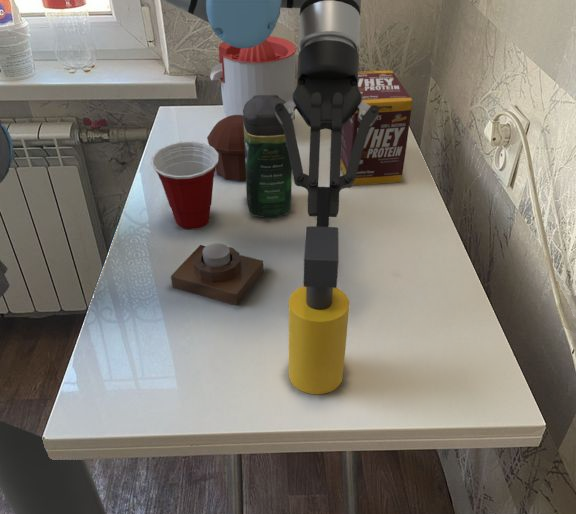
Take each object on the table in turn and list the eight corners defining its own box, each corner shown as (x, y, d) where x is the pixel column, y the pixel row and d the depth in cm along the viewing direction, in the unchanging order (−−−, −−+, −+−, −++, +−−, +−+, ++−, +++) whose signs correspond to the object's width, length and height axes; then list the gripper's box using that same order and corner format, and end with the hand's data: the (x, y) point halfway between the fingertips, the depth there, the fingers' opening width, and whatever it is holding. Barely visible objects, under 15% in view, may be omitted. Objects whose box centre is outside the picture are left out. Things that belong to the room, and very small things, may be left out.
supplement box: (348, 186, 116) (354, 103, 105) (333, 150, 127) (337, 71, 116) (402, 183, 116) (414, 100, 106) (383, 147, 128) (391, 68, 117)
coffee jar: (294, 218, 107) (295, 112, 94) (248, 221, 107) (243, 115, 94) (288, 191, 114) (288, 89, 101) (245, 193, 114) (240, 91, 101)
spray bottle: (290, 349, 83) (291, 222, 70) (342, 351, 83) (353, 224, 69) (287, 393, 77) (287, 264, 64) (343, 395, 77) (355, 266, 64)
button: (198, 264, 91) (197, 254, 90) (211, 250, 94) (210, 240, 93) (222, 270, 90) (221, 261, 89) (235, 256, 93) (234, 246, 92)
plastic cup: (152, 236, 103) (141, 169, 95) (170, 203, 111) (161, 139, 103) (216, 241, 102) (210, 174, 94) (229, 207, 110) (225, 143, 102)
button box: (172, 287, 93) (168, 265, 90) (201, 256, 99) (199, 234, 96) (237, 306, 90) (236, 284, 87) (263, 272, 96) (263, 250, 93)
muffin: (258, 187, 115) (256, 136, 108) (202, 181, 117) (196, 129, 110) (274, 159, 123) (273, 109, 117) (221, 153, 125) (217, 104, 118)
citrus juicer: (211, 119, 137) (203, 21, 124) (288, 114, 140) (288, 17, 126) (218, 150, 126) (210, 46, 112) (302, 144, 129) (303, 41, 115)
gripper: (378, 68, 80) (372, 250, 79) (277, 66, 80) (270, 247, 80) (385, 37, 72) (378, 237, 72) (274, 35, 73) (266, 234, 72)
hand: (321, 242), depth 76 cm, fingers closed
